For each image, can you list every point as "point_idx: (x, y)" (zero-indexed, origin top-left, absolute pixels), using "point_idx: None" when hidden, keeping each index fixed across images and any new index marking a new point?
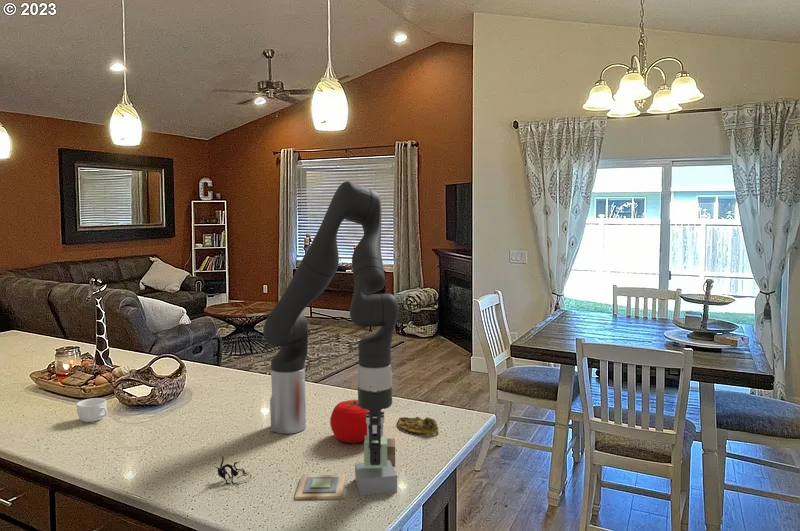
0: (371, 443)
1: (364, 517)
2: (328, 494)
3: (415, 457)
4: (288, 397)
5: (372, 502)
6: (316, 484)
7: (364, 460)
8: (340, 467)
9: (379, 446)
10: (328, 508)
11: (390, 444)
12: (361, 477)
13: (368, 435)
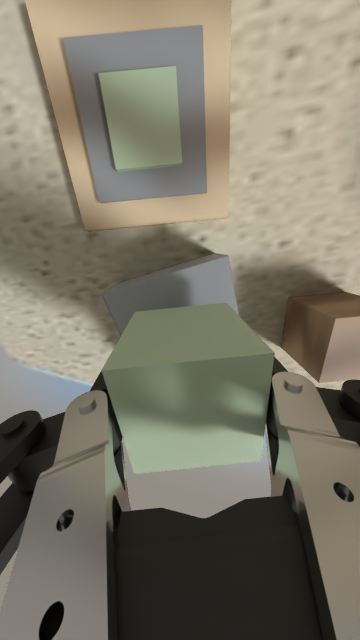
0: (24, 454)
1: (14, 307)
2: (84, 177)
3: (321, 383)
4: None
5: (90, 316)
6: (126, 99)
7: (129, 322)
8: (302, 185)
9: (15, 486)
10: (20, 195)
11: (341, 368)
12: (114, 295)
13: (43, 488)
